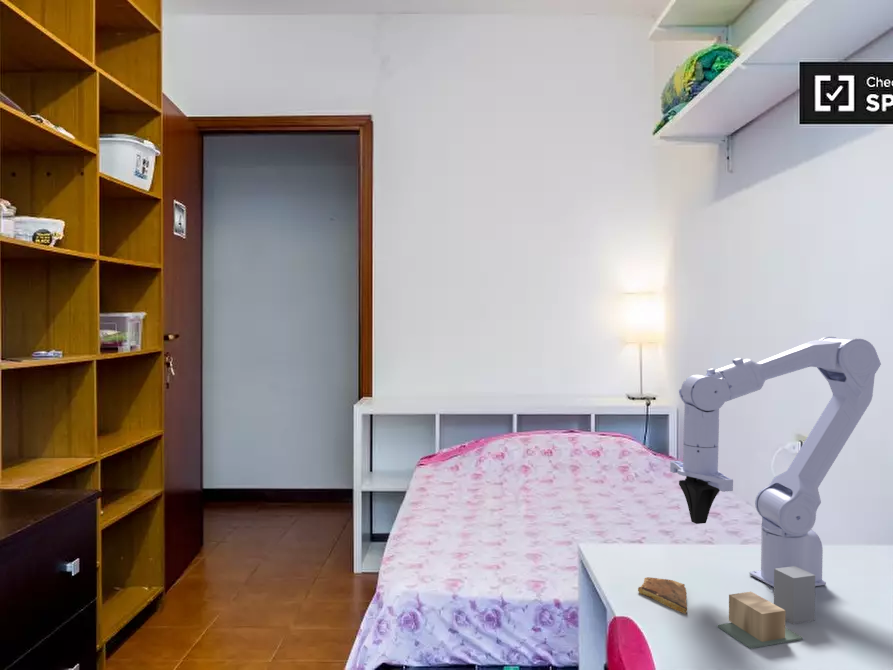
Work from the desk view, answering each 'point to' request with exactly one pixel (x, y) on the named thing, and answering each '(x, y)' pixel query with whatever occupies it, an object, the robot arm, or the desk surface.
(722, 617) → the desk surface
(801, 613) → the grey block
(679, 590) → the shard
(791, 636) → the mat
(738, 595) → the oak block
